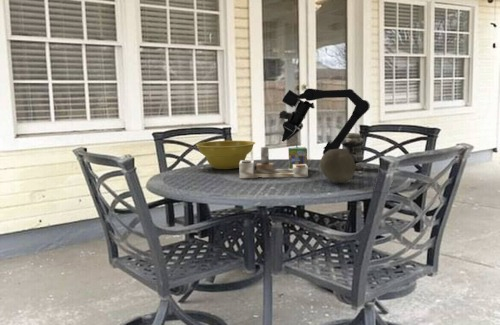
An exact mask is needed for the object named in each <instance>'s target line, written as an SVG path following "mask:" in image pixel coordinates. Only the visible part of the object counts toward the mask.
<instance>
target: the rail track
mask: <svg viewBox="0 0 500 325" xmlns="http://www.w3.org/2000/svg"><path fill="white" fill-rule="evenodd" d="M238 168H239V171H238V172H239V179H255V178H256V179H257V178H258V177H262V178H292V177H293V178H309V166H308V167H307V165H306V164H293V169H289V168H274V170H257V169H255V160H254V159H248V160H247V159H245V160H241V161H240V163H239V167H238Z"/></svg>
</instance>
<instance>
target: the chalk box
mask: <svg viewBox="0 0 500 325" xmlns="http://www.w3.org/2000/svg"><path fill="white" fill-rule="evenodd" d="M294 143H295V146H296V147H288V169H293V164H306V165H307V167H308V168H309V166H308V148H307V147H305V146H304V147H303V146H301V147H300V146H298V144H297V142H296V141H294Z"/></svg>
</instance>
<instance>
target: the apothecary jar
mask: <svg viewBox="0 0 500 325" xmlns="http://www.w3.org/2000/svg"><path fill="white" fill-rule="evenodd" d="M364 143H365V142H364V138H362V135H361V133H357V132H349V133H348V135H347V136H346V138H345V139H344V140H343V142H342V143H341V145H342V148H341V149H344V150H346V151H348V152H349V153H350V154H351V155H352V158H353V160H354V162H355V171H356V170H357V171H358V170H362V166H359V165H357V164H359V163H361V162H362V161H364V159H365V157H364V155H363V153H362V145H363V144H364Z"/></svg>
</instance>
